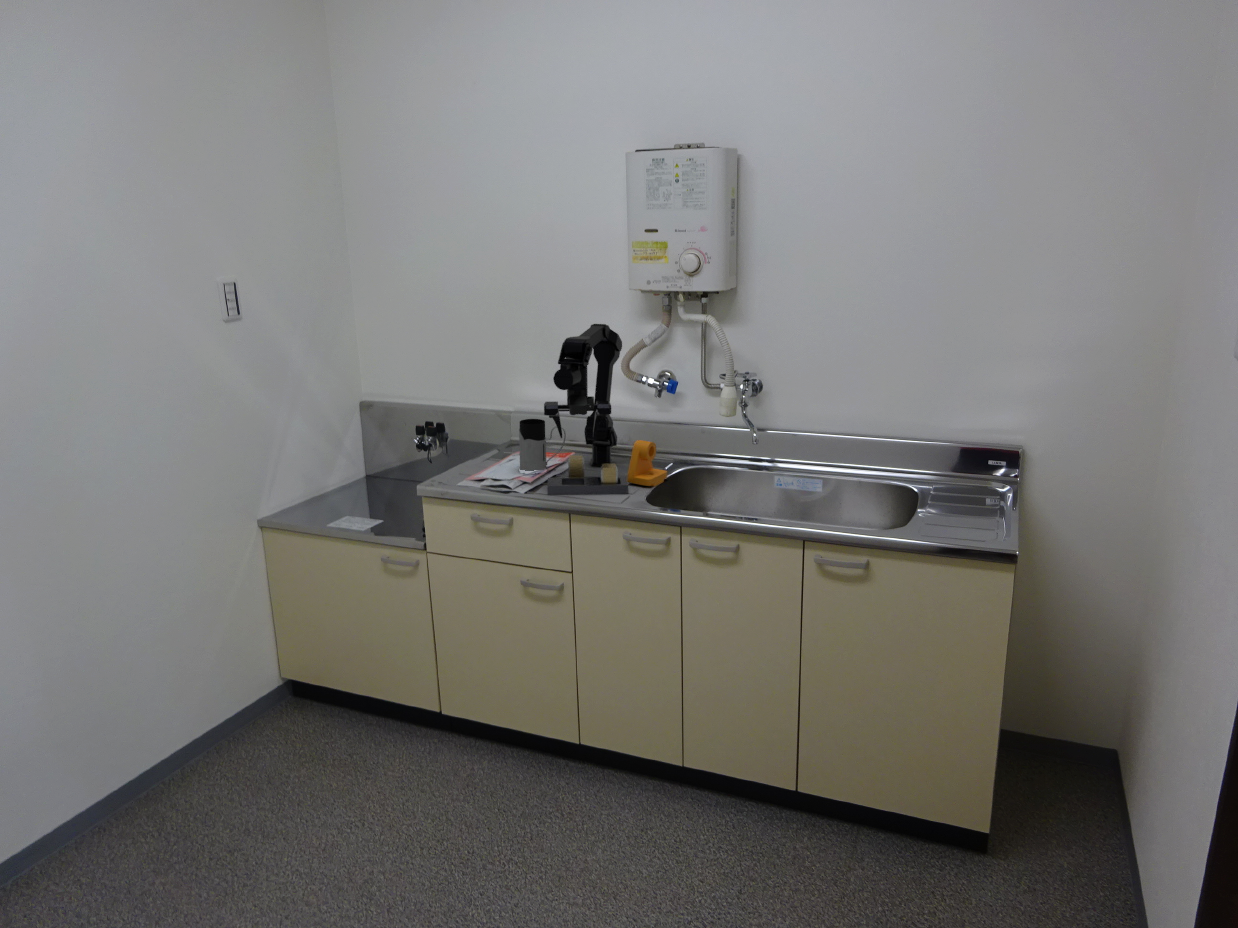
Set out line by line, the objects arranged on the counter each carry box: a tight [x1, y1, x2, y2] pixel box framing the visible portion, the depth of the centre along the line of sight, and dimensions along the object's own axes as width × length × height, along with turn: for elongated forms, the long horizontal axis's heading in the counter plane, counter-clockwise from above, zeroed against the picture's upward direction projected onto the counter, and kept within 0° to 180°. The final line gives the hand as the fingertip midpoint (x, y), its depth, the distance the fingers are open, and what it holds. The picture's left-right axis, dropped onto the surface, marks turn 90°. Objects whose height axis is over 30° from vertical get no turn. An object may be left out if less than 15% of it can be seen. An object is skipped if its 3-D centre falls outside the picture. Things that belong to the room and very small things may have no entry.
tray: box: [546, 476, 629, 496], centre depth 242 cm, size 8×22×2 cm, turn 93°
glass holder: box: [518, 418, 566, 471], centre depth 259 cm, size 9×14×15 cm, turn 87°
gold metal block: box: [567, 454, 585, 478], centre depth 250 cm, size 4×4×7 cm
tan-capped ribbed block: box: [600, 463, 619, 485], centre depth 242 cm, size 4×4×7 cm
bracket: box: [626, 439, 668, 487], centre depth 249 cm, size 11×7×12 cm, turn 148°
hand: (577, 437), depth 247 cm, fingers open, 9 cm apart
